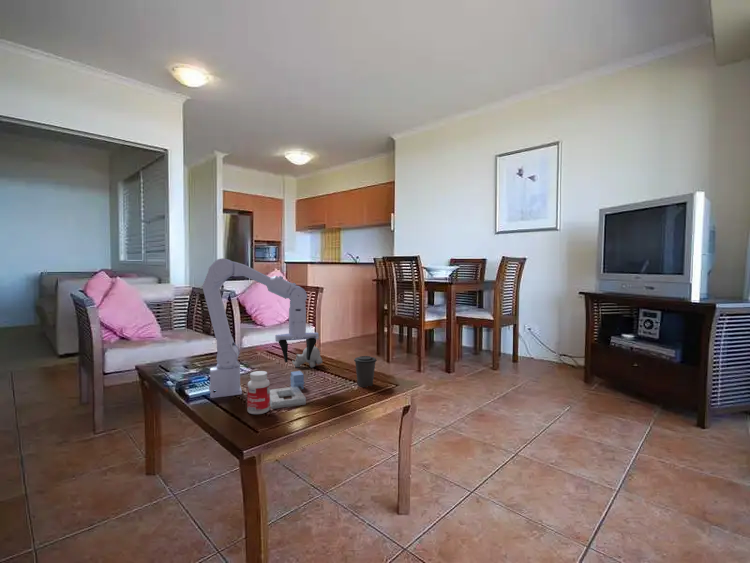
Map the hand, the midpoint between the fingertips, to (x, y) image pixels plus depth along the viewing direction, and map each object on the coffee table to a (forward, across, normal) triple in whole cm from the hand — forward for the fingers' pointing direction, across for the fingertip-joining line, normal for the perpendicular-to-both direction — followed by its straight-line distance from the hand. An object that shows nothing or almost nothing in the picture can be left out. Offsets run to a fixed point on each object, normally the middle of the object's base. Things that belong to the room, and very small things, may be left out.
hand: (297, 360), depth 130 cm
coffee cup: (+10, +23, -6) cm, 26 cm away
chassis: (+9, -6, -11) cm, 16 cm away
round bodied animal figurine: (+10, +10, +26) cm, 29 cm away
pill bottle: (+10, -15, -17) cm, 24 cm away
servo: (+9, 0, 0) cm, 9 cm away
